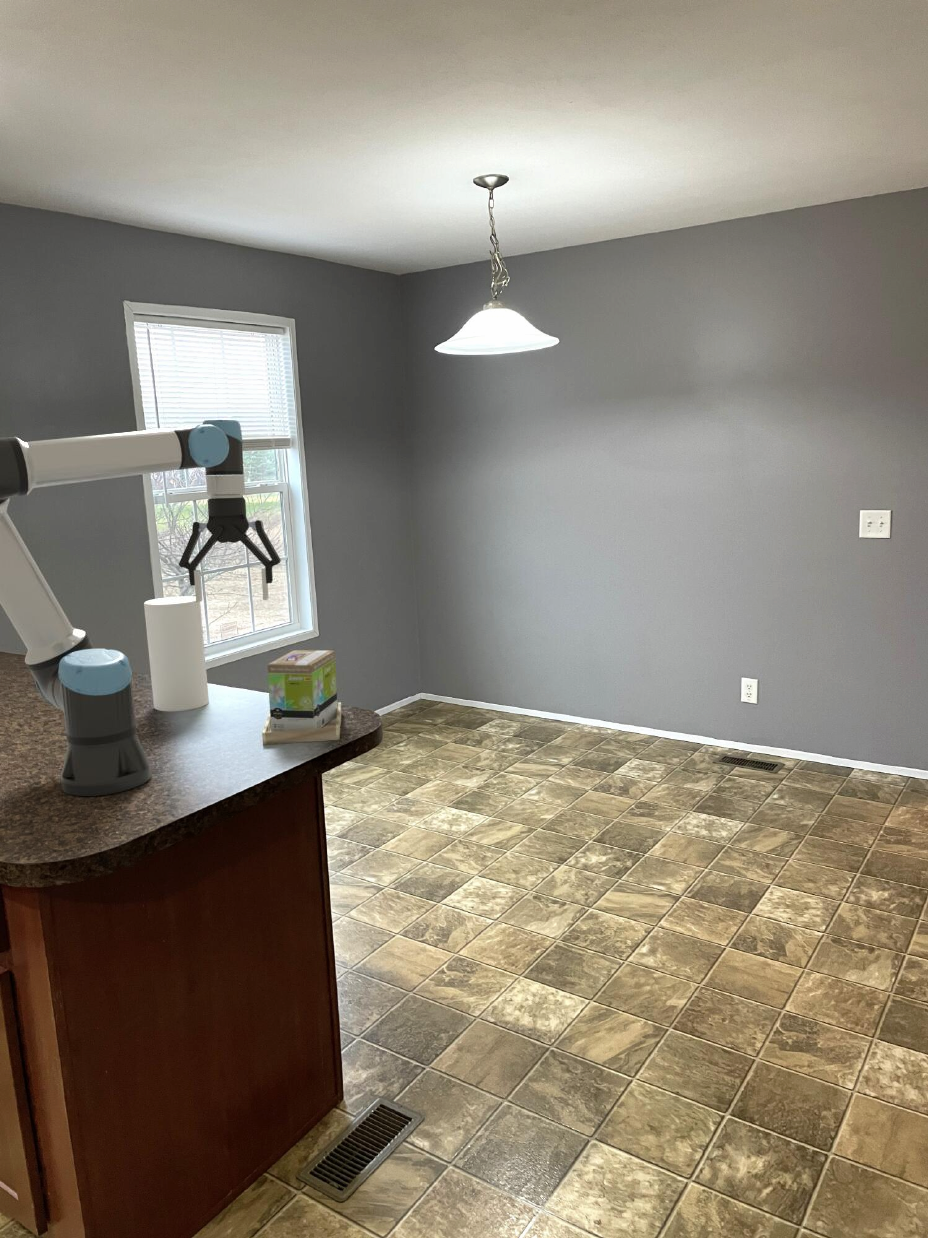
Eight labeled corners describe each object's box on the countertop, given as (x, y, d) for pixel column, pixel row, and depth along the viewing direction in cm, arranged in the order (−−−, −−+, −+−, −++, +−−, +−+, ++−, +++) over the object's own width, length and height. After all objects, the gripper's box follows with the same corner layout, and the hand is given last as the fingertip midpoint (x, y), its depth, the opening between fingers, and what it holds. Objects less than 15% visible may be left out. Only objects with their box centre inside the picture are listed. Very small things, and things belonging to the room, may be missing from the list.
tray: (339, 739, 188) (338, 727, 187) (262, 744, 186) (262, 732, 186) (341, 713, 208) (341, 702, 207) (272, 717, 206) (271, 706, 206)
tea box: (316, 735, 189) (312, 664, 186) (270, 734, 190) (264, 663, 188) (339, 714, 203) (335, 648, 201) (295, 714, 205) (291, 648, 202)
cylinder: (215, 696, 227) (206, 595, 223) (199, 710, 215) (190, 603, 210) (164, 698, 227) (154, 597, 223) (146, 712, 215) (135, 605, 211)
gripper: (290, 494, 194) (295, 595, 197) (168, 497, 192) (175, 599, 196) (286, 495, 187) (291, 600, 190) (159, 498, 185) (166, 604, 188)
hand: (232, 600), depth 193 cm, fingers open, 13 cm apart
